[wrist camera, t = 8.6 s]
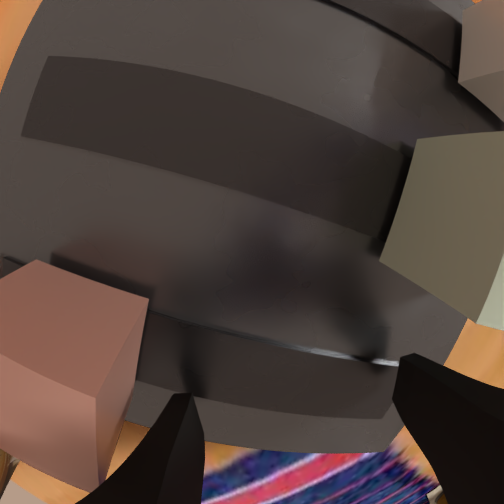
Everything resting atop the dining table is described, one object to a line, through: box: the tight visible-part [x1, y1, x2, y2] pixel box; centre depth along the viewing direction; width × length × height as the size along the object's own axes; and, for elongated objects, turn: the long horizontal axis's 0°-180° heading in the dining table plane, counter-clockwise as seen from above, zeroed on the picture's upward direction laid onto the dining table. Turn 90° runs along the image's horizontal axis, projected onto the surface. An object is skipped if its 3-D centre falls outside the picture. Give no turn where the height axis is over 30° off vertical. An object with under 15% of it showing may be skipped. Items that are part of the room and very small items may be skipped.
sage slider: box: [379, 131, 504, 331], centre depth 6 cm, size 4×4×4 cm
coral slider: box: [0, 259, 149, 493], centre depth 6 cm, size 4×4×4 cm
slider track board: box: [0, 0, 504, 453], centre depth 9 cm, size 20×22×1 cm
